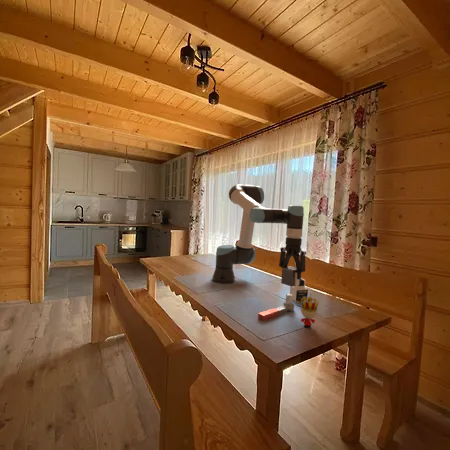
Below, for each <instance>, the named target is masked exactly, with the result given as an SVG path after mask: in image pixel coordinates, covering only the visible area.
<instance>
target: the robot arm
mask: <svg viewBox="0 0 450 450" xmlns="http://www.w3.org/2000/svg"><path fill="white" fill-rule="evenodd" d="M228 198H229V200H230V202H232V203H233V204H234V205H238V206H239V207H240V208H241V209H242V217H241V223H240V232H239V239H238V242H236V244H235V246H234V245H232V244H222V245H219V246H217V248H216V252H215V268H214V272H213V274H212V277H211V278H212V281H214V282H215V283H220V284H231V283H234V282H235V280H236V277H235V273H234V265H249V264H252V263H253V262H254V261H255V259H256V249H255V247H254V245H253V244H252V243H253V242H252V241H253V236H254V227H255V223H256V224H283V225H286V232H285V233H286V235H285V236H286V238H285V247H282V246H281V247H280V248H279V249H280V256H279V263H278V267H280V268H282V267H287V266H289V262H290V259H291V257H293V259H294V264H295V265H294V266H295V267H296V270H297V272H295V284H294V286H298V285H299V279H301V278H302V273H305V272H306V256H307V251H305V250H302V237H303V226H304V218H305V217H304V216H305V210H304V206H302V205H291V204H290V205H288V207H287V208H271V207H269V208H268V207H264V206H262V205H261V204H263V203H264V201H265V192H264V189H263V188H262V186H259V185H255V184H254V185H253V184H241V183H239V184H235V185H233V186H231V188H230V189H229V190H228Z"/></svg>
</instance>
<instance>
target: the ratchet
mask: <svg viewBox="0 0 450 450" xmlns="http://www.w3.org/2000/svg"><path fill="white" fill-rule="evenodd" d="M282 304H283V305H281V306H279V307H278V306H277V307H276V308H274V307H273V308H270V309H266V310H264V311H261V312H258V313H257V320H259V321H260V322H263V321H264V322H266V321H269V320H272V319H274V318H277V317H279V316H282V315H284V314H287V313H293V312H295V304H294V302H293V295H292V294H290V293H287V294H285V302H284V303H282Z"/></svg>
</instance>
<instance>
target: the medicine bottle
mask: <svg viewBox="0 0 450 450" xmlns="http://www.w3.org/2000/svg"><path fill="white" fill-rule="evenodd" d="M305 286H306V280H305V278H303V277H301V279H300V285H298V286H293V287H291V286H289V294H292V295H293V301H294V302H295V303H301V299H302V298H303V297H307V298H308V297H309V296H308V295H309V289H308V288H307V287H305ZM305 299H306V298H305ZM306 302H308V301H306ZM302 303H303V300H302Z"/></svg>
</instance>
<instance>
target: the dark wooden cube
mask: <svg viewBox="0 0 450 450" xmlns="http://www.w3.org/2000/svg"><path fill="white" fill-rule="evenodd" d="M295 272H297V270H296V266H292V265H287V267H281V279H280V281H281V282H280V283H281V284H282V285H285V286H288V287H290V286H291V287H293V286H294V284H295ZM299 285H300V279H299Z"/></svg>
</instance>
